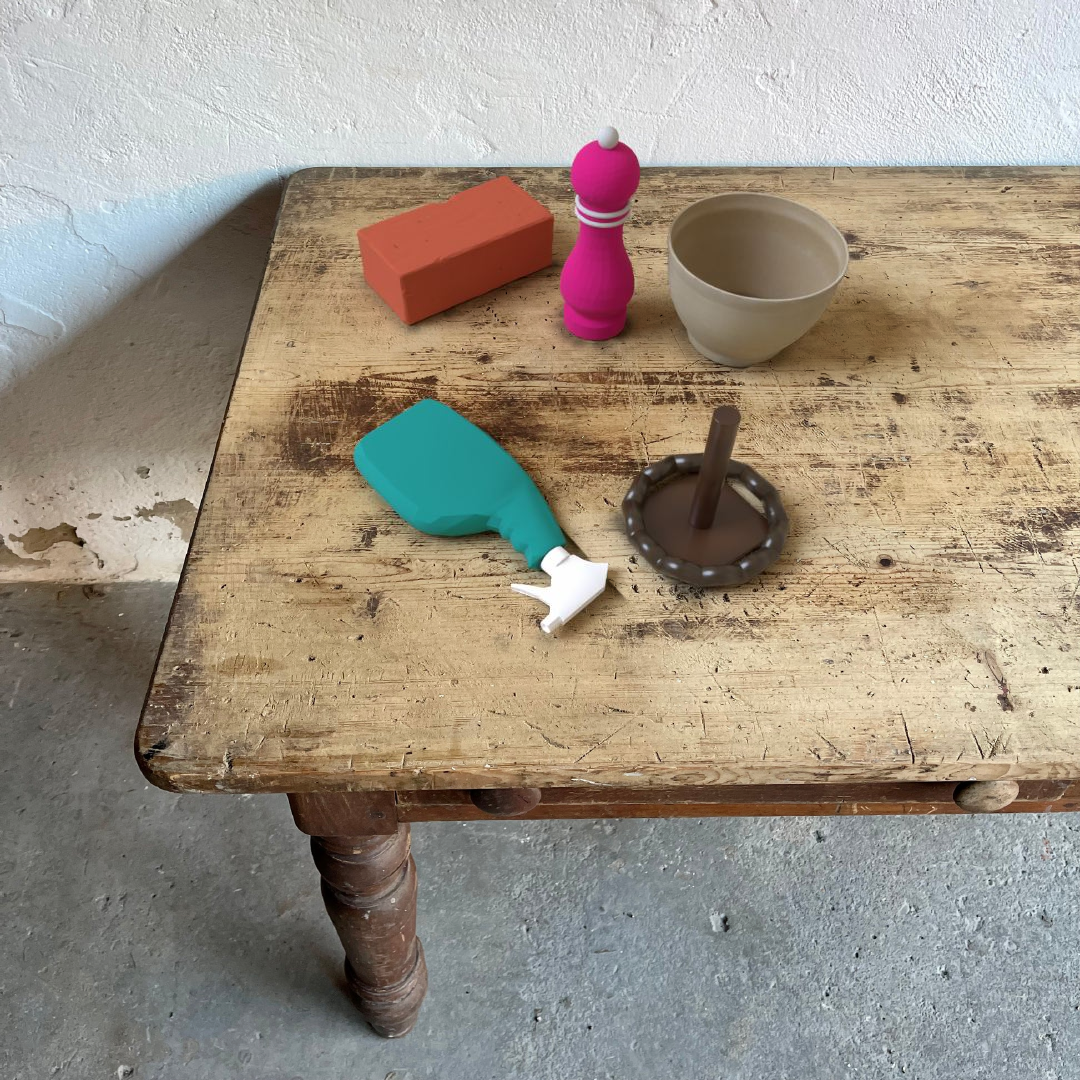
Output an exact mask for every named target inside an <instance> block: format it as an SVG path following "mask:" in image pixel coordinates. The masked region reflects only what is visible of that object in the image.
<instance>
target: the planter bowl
mask: <svg viewBox="0 0 1080 1080" xmlns="http://www.w3.org/2000/svg"><path fill="white" fill-rule="evenodd" d="M849 264H850V250H849V246H848V243H847V240H846V238H845V236H844V235H843V234H842V232H841V231H840V230H839V229H838V227H837V226H835V225H834V223H832V221H830V220H829V219H828V218H827V217H825V216H824V215H822V214H821V213H820V212H819V211H816V210H815V209H813V208H812V207H809V206H808V205H806V204H804V203H801V202H799V201H796V200H792V199H790V198H787V197H784V196H778V195H774V194H768V193H763V192H754V191H733V192H725V193H719V194H713V195H709V196H707V197H706V196H705V197H704V198H701V199H698V200H696V201H694V202H692V203H690V204H688V205H687V206H685V207H683V208H682V210H680V211H679V212H678V213H677V214H676V215H675V217H674V218H673V220H672V222H671V223H670V226H669V229H668V234H667V282H668V287H669V288H668V289H669V293H670V297H671V300H672V303H673V306H674V308H675V311H676V313H677V316H678V317H679V319H680V321H681V323H682V325H683V326H684V328H685V329H686V332H687V336H688V340H689V342H690V344H691V345H692V347H693V348H694V349H695V350H696V351H697V352H698V353H700V354H701V355H702V357H705V358H706V359H708V360H710V361H712V362H715V363H717V364H720V365H724V366H728V367H734V368H749V367H752V366H753V365H756V364H759V363H762V362H763V363H764V362H766V361H768V360H770V359H772V358H774V357H776V356H777V355H778V354H779V353H780V352H781V351H782V350H784V349H785V348H787V347H789V346H790V345H792V344H793V343H795V342H796V341H797V340H799V339H800V338H801V337H802V336H804V335H805V334H806V333H807V332H808V331H809V330H810V329H812V327H813V326H814V325H815V324H816V323H817V322H818V320H819V319H820V318H821V317H822V315H823V314H824V313H825V311H826V309H828V306H829V304H830V303H831V301H832V299H833V297H834V296H835V293H836V291H837V289H838V287H839V286H840V284H841V283H842V281H843V279H844V277H845V275H846V273H847V271H848V268H849Z"/></svg>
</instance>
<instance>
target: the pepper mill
mask: <svg viewBox="0 0 1080 1080" xmlns="http://www.w3.org/2000/svg"><path fill="white" fill-rule="evenodd" d="M619 139H620V134H619V132H618V130H617V129H616V128H615V127H614V126H612V125H611V126H610V125H607V126H603V127H601V129H600V130H599V131H598V134H597V139H596V140H593V141H590V142H588V143H587V144H585V145H582V147H581V149H579V151H578V152H577V153H576V155H575V156H574V159H573V160H572V164H571V168H570V169H571V170H570V183H571V186H572V188H573V190H574V192H575V193H576V196H575V197H574V198H575V199H574V202H575V206H574V213H575V216H576V217H577V219H578V220H579V230H578V231H579V232H578V237H577V240H576V242H575V245H574V247H573V248H572V250H571V252H570V254H569V255H568V257H567V259H566V260H565V262H564V265H563V268H562V270H561V273H560V280H559V291H560V294H561V297H562V299H563V300H564V304H563V323H564V326H565V327H566V329H567V330H568V331H569V332H570V333H571V334H573V335H574V336H576V337H577V338H581V339H584V340H588V341H603V340H608V339H612V338H613V337H616V336H617V335H619V333H621V332H622V331H623V330H624V328H625V325H626V321H627V312H628V306H627V305H628V304H630V302H631V300H632V298H633V296H634V293H635V272H634V269H633V265H632V262H631V259H630V257H629V254H628V252H627V249H626V247H625V244H624V225H625V223H626V222H627V221H628V220H629V219H630V217H631V214H632V208H631V207H632V205H633V201H632V196H633V195H634V194H635V193H636V192H637V189H638V188H639V185H640V181H641V165H640V161H639V159H638V157H637V155H636V153H635V152H634V150H633V149H632V148H631V147H630V146H628V145H627V144H626V143H625V142H622V141H620V140H619Z"/></svg>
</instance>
